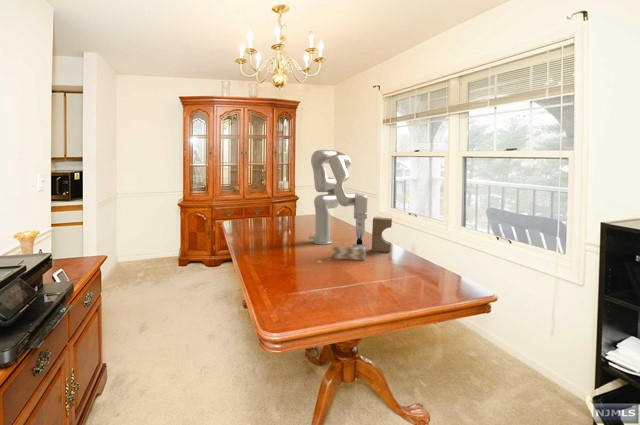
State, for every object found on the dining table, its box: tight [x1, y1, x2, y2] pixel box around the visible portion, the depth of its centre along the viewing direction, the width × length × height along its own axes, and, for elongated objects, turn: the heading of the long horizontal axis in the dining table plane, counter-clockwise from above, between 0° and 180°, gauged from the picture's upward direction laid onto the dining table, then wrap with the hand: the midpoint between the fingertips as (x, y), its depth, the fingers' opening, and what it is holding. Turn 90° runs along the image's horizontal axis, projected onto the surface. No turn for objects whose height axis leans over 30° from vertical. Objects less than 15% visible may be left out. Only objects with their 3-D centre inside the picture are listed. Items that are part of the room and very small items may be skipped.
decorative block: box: [371, 216, 393, 253], centre depth 218 cm, size 11×6×20 cm, turn 75°
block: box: [351, 243, 367, 259], centre depth 207 cm, size 8×8×6 cm
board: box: [332, 246, 367, 261], centre depth 202 cm, size 18×3×6 cm, turn 81°
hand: (359, 246), depth 213 cm, fingers closed
